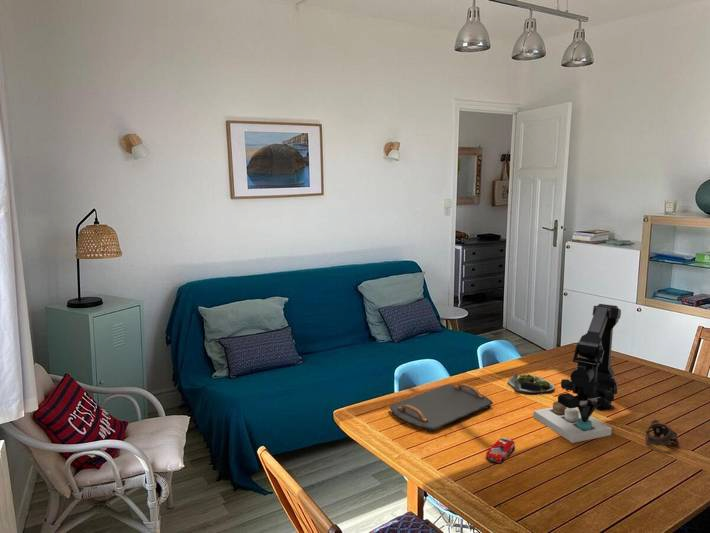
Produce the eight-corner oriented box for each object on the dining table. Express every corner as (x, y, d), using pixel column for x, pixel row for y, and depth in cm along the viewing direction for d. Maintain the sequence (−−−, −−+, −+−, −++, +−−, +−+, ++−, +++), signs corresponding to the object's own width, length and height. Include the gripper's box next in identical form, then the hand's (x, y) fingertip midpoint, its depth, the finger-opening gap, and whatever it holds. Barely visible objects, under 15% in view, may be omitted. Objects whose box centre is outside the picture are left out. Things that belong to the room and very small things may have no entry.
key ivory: (571, 416, 188) (572, 407, 187) (581, 421, 183) (582, 412, 183) (561, 418, 186) (561, 409, 186) (570, 423, 182) (571, 414, 181)
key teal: (584, 426, 182) (584, 417, 182) (594, 432, 178) (594, 423, 178) (573, 428, 181) (573, 419, 180) (583, 434, 177) (583, 425, 176)
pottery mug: (687, 453, 168) (680, 435, 165) (656, 463, 170) (649, 445, 167) (669, 427, 178) (662, 409, 176) (640, 436, 181) (633, 419, 178)
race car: (499, 466, 160) (499, 454, 159) (482, 460, 164) (483, 448, 163) (517, 449, 170) (518, 437, 169) (502, 444, 174) (502, 432, 173)
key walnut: (560, 409, 193) (560, 400, 193) (569, 414, 189) (569, 405, 189) (549, 411, 192) (550, 402, 191) (558, 416, 188) (559, 407, 187)
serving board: (452, 388, 219) (452, 374, 218) (499, 407, 201) (500, 391, 200) (382, 415, 195) (382, 399, 194) (428, 439, 177) (429, 421, 176)
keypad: (569, 410, 197) (569, 404, 197) (611, 435, 179) (611, 428, 178) (533, 417, 192) (533, 410, 192) (572, 443, 173) (572, 435, 173)
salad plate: (496, 379, 229) (497, 369, 228) (534, 376, 232) (534, 365, 232) (520, 397, 210) (520, 386, 209) (560, 393, 214) (561, 382, 213)
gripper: (591, 365, 187) (588, 407, 190) (547, 372, 181) (545, 415, 184) (616, 377, 176) (613, 421, 179) (571, 384, 170) (568, 430, 173)
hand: (584, 421), depth 179 cm, fingers closed, pressing on key teal
